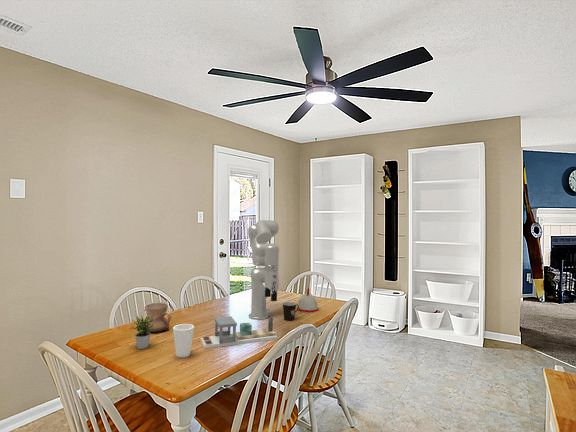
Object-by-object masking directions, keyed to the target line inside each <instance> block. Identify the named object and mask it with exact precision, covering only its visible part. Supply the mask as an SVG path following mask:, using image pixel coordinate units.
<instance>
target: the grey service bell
mask: <svg viewBox="0 0 576 432" xmlns="http://www.w3.org/2000/svg"><path fill="white" fill-rule="evenodd" d="M298 305H299V308H298V307H297V308H298V310H297V311H298V312H301V313H306V314H307V313H316V312H318V311H319V310H318V309H319V308H318V305H319V304H318V300H317V299H316V298H315V295H313V294H312V293H310V287H308V288H307V291H306V293H304V294H303V295H302V296H301V298H299V300H298Z"/></svg>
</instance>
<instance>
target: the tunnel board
mask: <svg viewBox="0 0 576 432" xmlns="http://www.w3.org/2000/svg"><path fill="white" fill-rule="evenodd" d="M214 323H215V324H214V335H211V336H209V335H208V336H202V337H201V336H200V343H201V344H202V346H203V347H202V348H204V350H205V349H213V348H219V347H228V346H237V345H243V344H251V343H259V342H260V343H261V342H268V341H274V340H275V341H276V340H278V339H279V338H278V337H279V336H278V335H277V334H276V335H270V336H262V337H254V338H246V339H238V338H237V337H236V332H237V326H238V323H237V322H236V320H235V319H234V318H233V316H231V315H228V316H220V317H214ZM224 328H225V329H226V328H227V330H224ZM231 328H232V333H231Z"/></svg>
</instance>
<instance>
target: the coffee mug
mask: <svg viewBox="0 0 576 432" xmlns="http://www.w3.org/2000/svg"><path fill="white" fill-rule="evenodd" d="M298 308H299V305H298V304H297V303H296V302H291V301H286V302H283V303H282V310H283V320H284V321H286V322H293V321H294V320H295V318H296V317H295V315H296V312H298V311H299V310H298Z"/></svg>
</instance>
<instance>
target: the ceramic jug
mask: <svg viewBox="0 0 576 432" xmlns="http://www.w3.org/2000/svg"><path fill="white" fill-rule="evenodd" d="M168 306H169V304H168V303H167V302H163V301H162V302H161V301H159V302H149V303H147V304H145V305H144V308H143V312H145V313H146V315H147V314H148V315H150V316H149V320H148V322H149V321H150V320H151V319H152V318H154V317H155V318H156V320H155V318H154V320H153V321H152V323H150V324H151V325H152V324H153V325H154V326H153V327H154V328H155V329H153V328H149V330H148V331H147V332H150V333H157V332H162V331H164V330H166V329H167V330H168V328H169V327H170V322H171V320H172V314H171V312H169V311H167V310H168ZM166 315H167V317H168V318H166V317H165V316H166ZM156 316H158V317H156ZM154 323H155V324H154ZM147 324H148V323H147ZM147 324H146V325H147ZM151 325H149V326H151ZM149 326H148V327H149Z"/></svg>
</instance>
